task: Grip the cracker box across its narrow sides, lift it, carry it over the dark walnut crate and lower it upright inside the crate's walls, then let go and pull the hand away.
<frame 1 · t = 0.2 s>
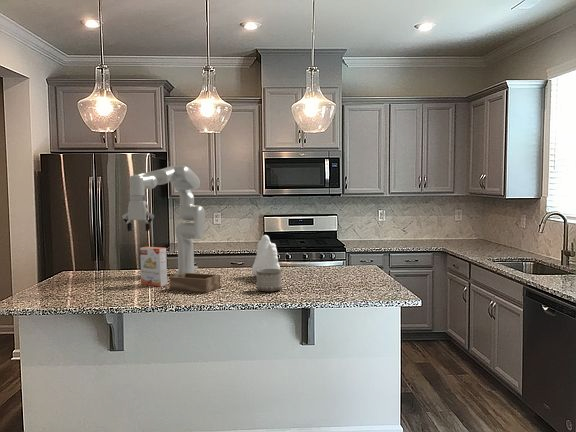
hand: (138, 231, 272), 31 cm above the countertop, tool pointing down, fingers open, 9 cm apart
cracker box: (154, 285, 281), on the countertop
planter: (269, 290, 263), on the countertop
white fluffy lump: (266, 279, 296), on the countertop
walnut crate: (195, 289, 269), on the countertop
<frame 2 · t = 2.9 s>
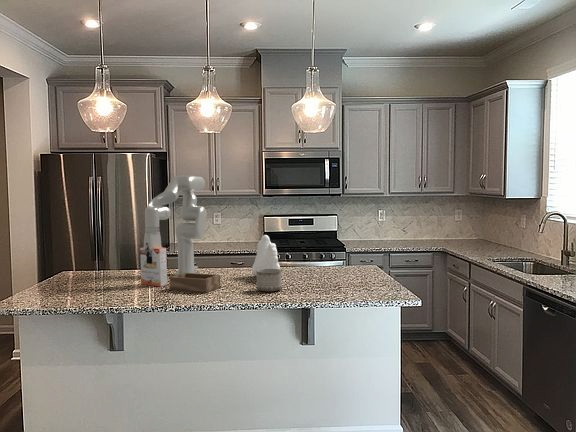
hand: (153, 262, 281), 13 cm above the countertop, tool pointing down, fingers closed on cracker box, 6 cm apart
cracker box: (154, 285, 281), on the countertop, touching gripper
everything else where it was.
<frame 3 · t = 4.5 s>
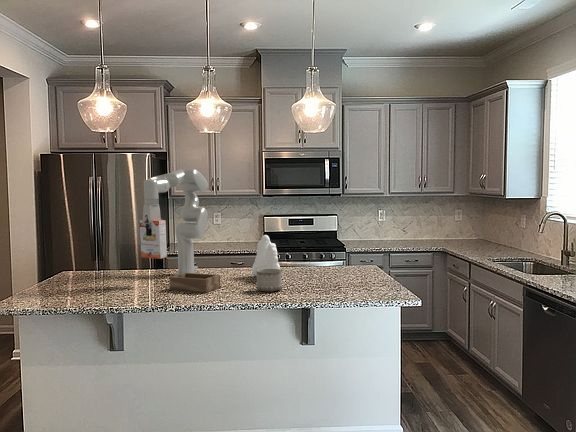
hand: (153, 234, 280), 28 cm above the countertop, tool pointing down, fingers closed on cracker box, 6 cm apart
cracker box: (154, 258, 281), point 15 cm above the countertop, touching gripper
everything else where it was.
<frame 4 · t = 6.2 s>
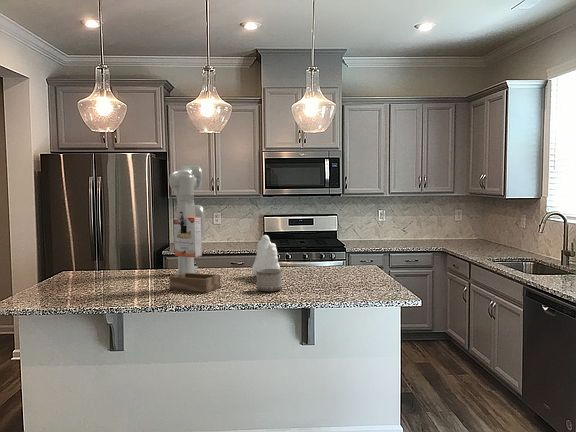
hand: (187, 232, 269), 30 cm above the countertop, tool pointing down, fingers closed on cracker box, 6 cm apart
cracker box: (188, 256, 269), point 17 cm above the countertop, touching gripper
everything else where it was.
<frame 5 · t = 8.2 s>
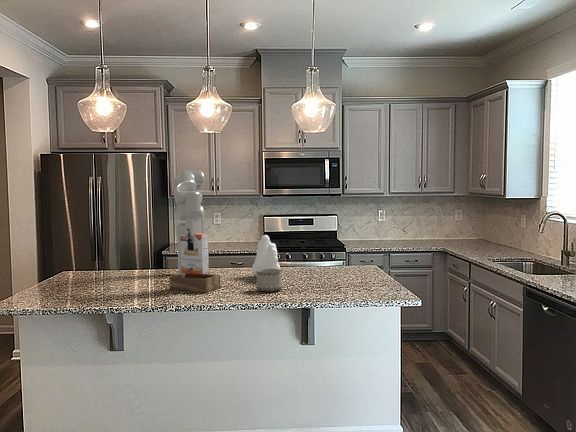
hand: (194, 249, 267), 21 cm above the countertop, tool pointing down, fingers closed on cracker box, 6 cm apart
cracker box: (195, 273, 268), point 8 cm above the countertop, touching gripper
everything else where it was.
when the fingers open (16 cm above the countertop, at t = 9.7 s): cracker box drops 2 cm, resting on walnut crate.
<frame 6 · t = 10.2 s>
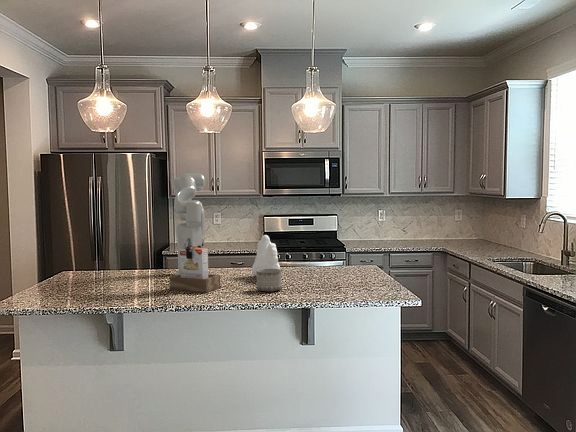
hand: (194, 257, 268), 17 cm above the countertop, tool pointing down, fingers open, 9 cm apart
cracker box: (194, 287, 268), point 1 cm above the countertop, touching walnut crate
everything else where it was.
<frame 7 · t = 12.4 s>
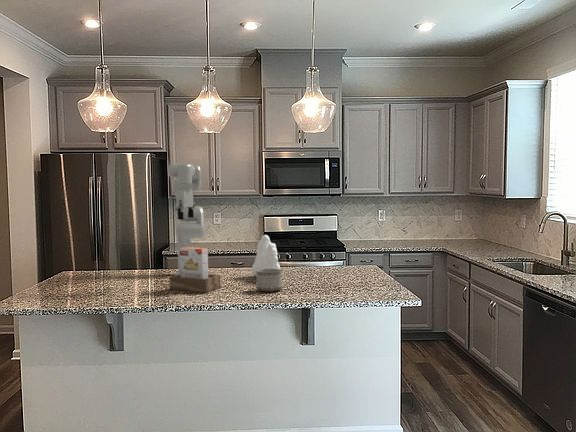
hand: (185, 218, 278), 37 cm above the countertop, tool pointing down, fingers open, 9 cm apart
nothing on the countertop moved.
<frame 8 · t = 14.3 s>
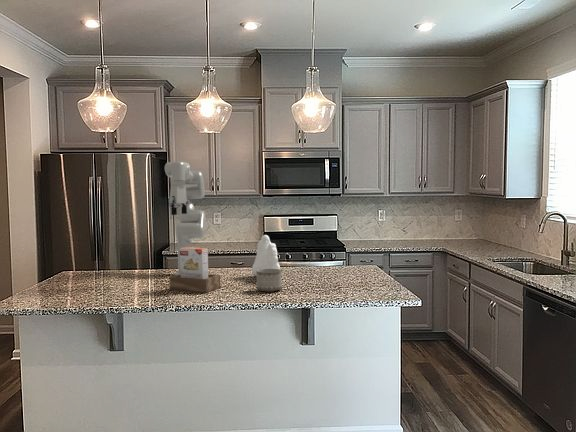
hand: (179, 214, 289), 38 cm above the countertop, tool pointing down, fingers open, 9 cm apart
nothing on the countertop moved.
at the end: cracker box inside the target area on the walnut crate (0.5 cm from its centre), point 0.8 cm above the walnut crate's base; cracker box tilted 0°; the gripper is holding nothing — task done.
